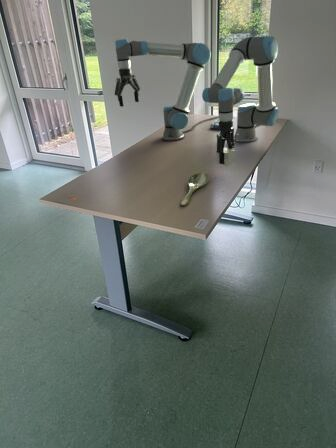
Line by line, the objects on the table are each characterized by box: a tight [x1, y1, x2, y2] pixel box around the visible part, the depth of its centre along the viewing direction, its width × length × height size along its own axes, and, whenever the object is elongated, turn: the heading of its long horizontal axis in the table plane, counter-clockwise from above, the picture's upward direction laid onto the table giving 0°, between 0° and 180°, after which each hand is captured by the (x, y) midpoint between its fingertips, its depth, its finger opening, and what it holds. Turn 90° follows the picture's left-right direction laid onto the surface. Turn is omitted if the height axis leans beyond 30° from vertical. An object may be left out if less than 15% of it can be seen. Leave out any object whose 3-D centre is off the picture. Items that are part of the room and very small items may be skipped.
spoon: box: [180, 171, 210, 207], centre depth 170 cm, size 35×11×2 cm, turn 159°
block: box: [215, 147, 236, 167], centre depth 186 cm, size 7×8×7 cm
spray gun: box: [210, 118, 220, 130], centre depth 264 cm, size 21×4×15 cm
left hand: (129, 104), depth 216 cm, fingers open, 13 cm apart
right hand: (225, 161), depth 187 cm, fingers closed on block, 7 cm apart
